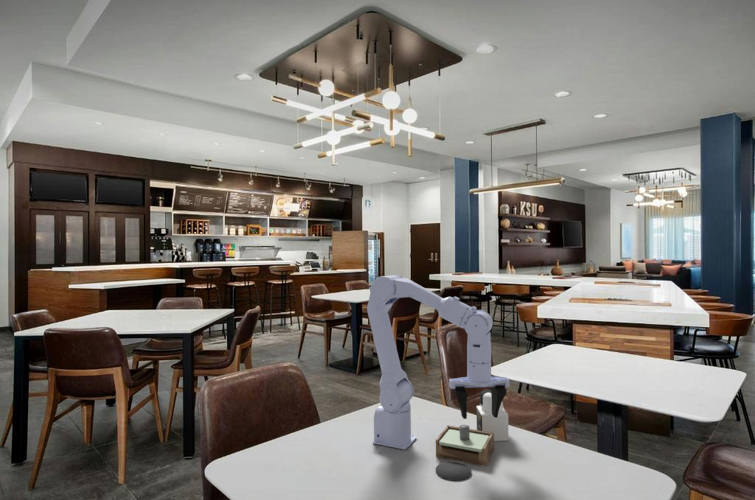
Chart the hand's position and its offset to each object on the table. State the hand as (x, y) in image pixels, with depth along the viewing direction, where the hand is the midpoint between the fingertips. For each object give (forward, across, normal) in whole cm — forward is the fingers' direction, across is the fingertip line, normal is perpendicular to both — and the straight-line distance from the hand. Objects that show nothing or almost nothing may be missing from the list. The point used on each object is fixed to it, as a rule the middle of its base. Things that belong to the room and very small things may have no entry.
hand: (479, 416), depth 108 cm
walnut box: (+10, -3, +2) cm, 10 cm away
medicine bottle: (+10, +7, +12) cm, 17 cm away
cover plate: (+7, -3, +2) cm, 8 cm away
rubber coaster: (+10, -8, -6) cm, 14 cm away
